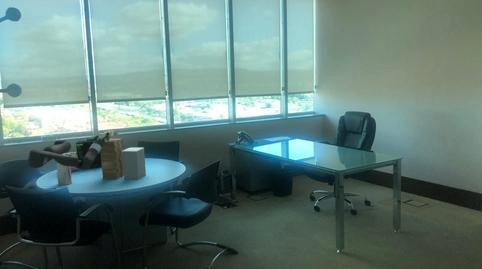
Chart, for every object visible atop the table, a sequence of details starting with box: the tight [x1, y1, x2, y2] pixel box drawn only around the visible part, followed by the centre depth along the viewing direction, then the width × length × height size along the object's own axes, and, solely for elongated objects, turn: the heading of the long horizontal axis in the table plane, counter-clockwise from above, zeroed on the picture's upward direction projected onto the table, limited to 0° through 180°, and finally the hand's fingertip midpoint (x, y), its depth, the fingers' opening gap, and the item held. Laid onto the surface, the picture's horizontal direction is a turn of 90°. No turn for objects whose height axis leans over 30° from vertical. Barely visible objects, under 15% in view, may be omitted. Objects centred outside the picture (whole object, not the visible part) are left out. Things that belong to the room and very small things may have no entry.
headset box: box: [75, 138, 102, 169], centre depth 344 cm, size 22×12×26 cm, turn 101°
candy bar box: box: [63, 151, 79, 173], centre depth 329 cm, size 11×5×16 cm, turn 129°
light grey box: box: [122, 147, 147, 180], centre depth 302 cm, size 14×12×23 cm
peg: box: [98, 129, 119, 138], centre depth 295 cm, size 22×5×4 cm, turn 170°
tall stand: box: [100, 138, 124, 180], centre depth 304 cm, size 14×12×30 cm
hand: (105, 132), depth 291 cm, fingers closed on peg, 3 cm apart
